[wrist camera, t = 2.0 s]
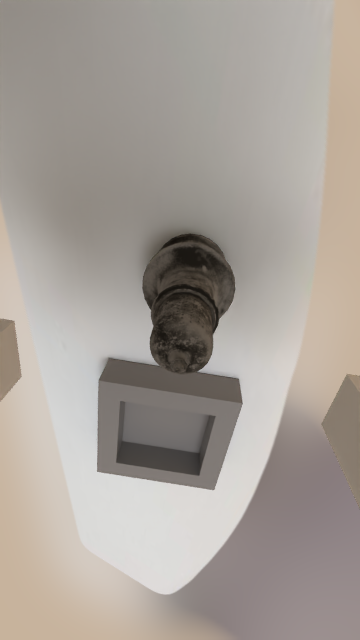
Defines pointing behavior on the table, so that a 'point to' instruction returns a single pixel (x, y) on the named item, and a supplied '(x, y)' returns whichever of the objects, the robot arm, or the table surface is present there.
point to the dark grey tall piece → (186, 301)
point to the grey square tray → (165, 423)
